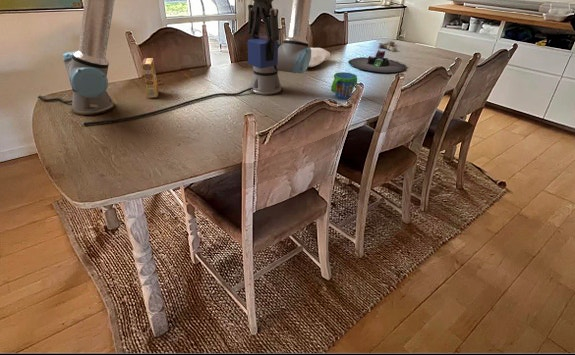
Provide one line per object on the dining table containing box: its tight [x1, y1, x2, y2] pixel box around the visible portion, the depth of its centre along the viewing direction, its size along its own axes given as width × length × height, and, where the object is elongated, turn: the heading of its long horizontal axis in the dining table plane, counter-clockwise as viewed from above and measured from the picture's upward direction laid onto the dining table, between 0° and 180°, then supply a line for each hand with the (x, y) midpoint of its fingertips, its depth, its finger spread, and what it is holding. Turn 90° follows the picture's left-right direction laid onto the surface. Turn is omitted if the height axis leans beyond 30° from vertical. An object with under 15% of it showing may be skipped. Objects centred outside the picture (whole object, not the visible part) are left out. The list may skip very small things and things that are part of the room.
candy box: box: [141, 57, 160, 99], centre depth 163 cm, size 9×4×15 cm, turn 13°
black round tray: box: [347, 49, 407, 74], centre depth 221 cm, size 35×35×9 cm
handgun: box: [378, 40, 398, 52], centre depth 263 cm, size 3×18×15 cm
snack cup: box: [330, 71, 358, 100], centre depth 171 cm, size 16×10×10 cm
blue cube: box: [247, 36, 279, 69], centre depth 132 cm, size 8×7×8 cm
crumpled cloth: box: [308, 47, 331, 68], centre depth 217 cm, size 24×35×9 cm
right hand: (262, 57), depth 133 cm, fingers closed on blue cube, 7 cm apart
